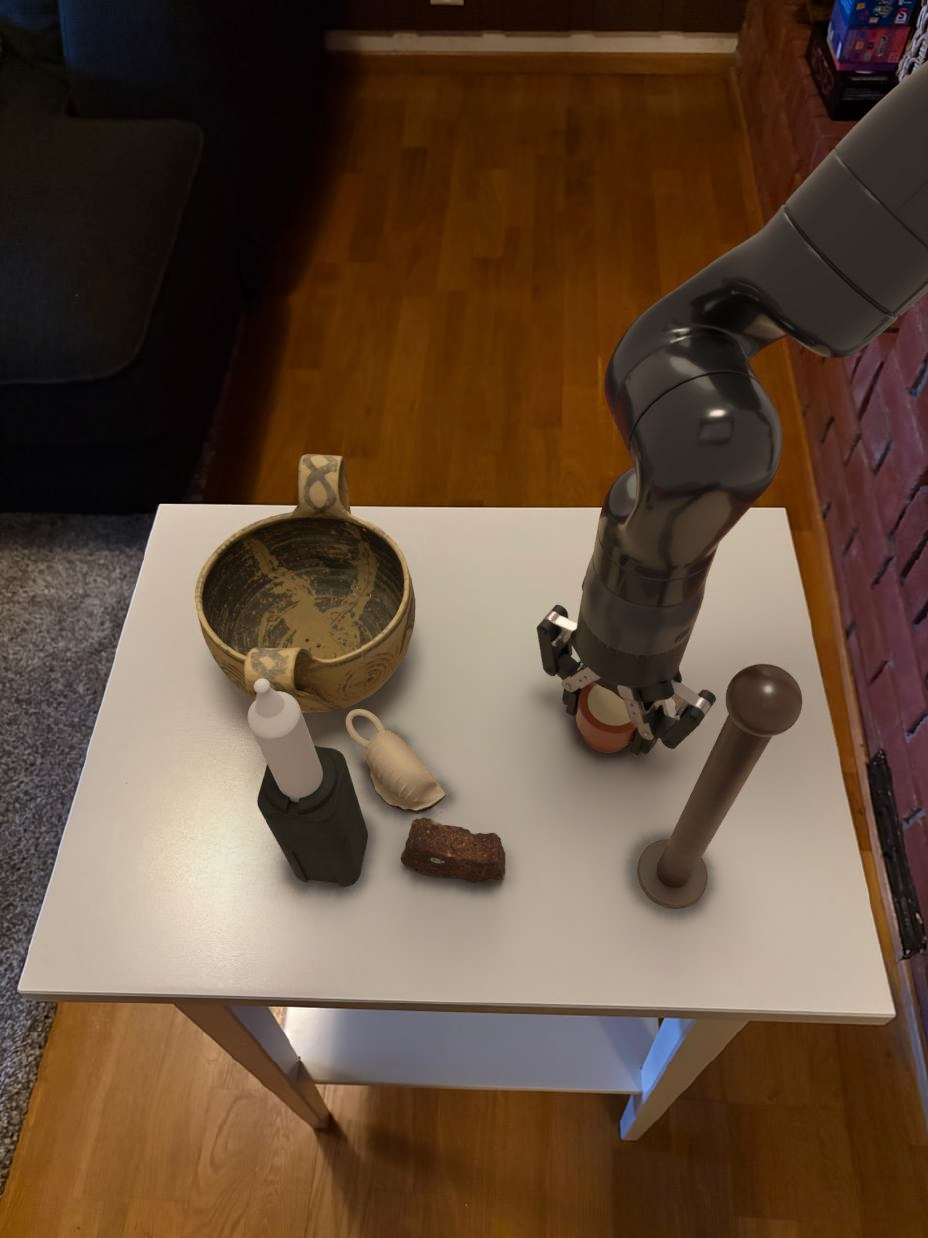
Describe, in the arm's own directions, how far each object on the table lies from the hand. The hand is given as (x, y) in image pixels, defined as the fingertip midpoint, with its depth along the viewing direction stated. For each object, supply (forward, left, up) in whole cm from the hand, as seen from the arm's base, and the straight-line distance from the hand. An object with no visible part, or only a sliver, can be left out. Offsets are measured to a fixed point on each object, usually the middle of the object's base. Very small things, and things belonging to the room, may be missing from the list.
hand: (607, 725), depth 71 cm
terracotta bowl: (0, 0, -1) cm, 1 cm away
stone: (+3, +16, -1) cm, 16 cm away
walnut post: (-10, +7, -1) cm, 13 cm away
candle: (+11, +21, -1) cm, 24 cm away
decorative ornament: (+11, +13, -1) cm, 17 cm away
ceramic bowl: (+23, +9, -1) cm, 25 cm away
